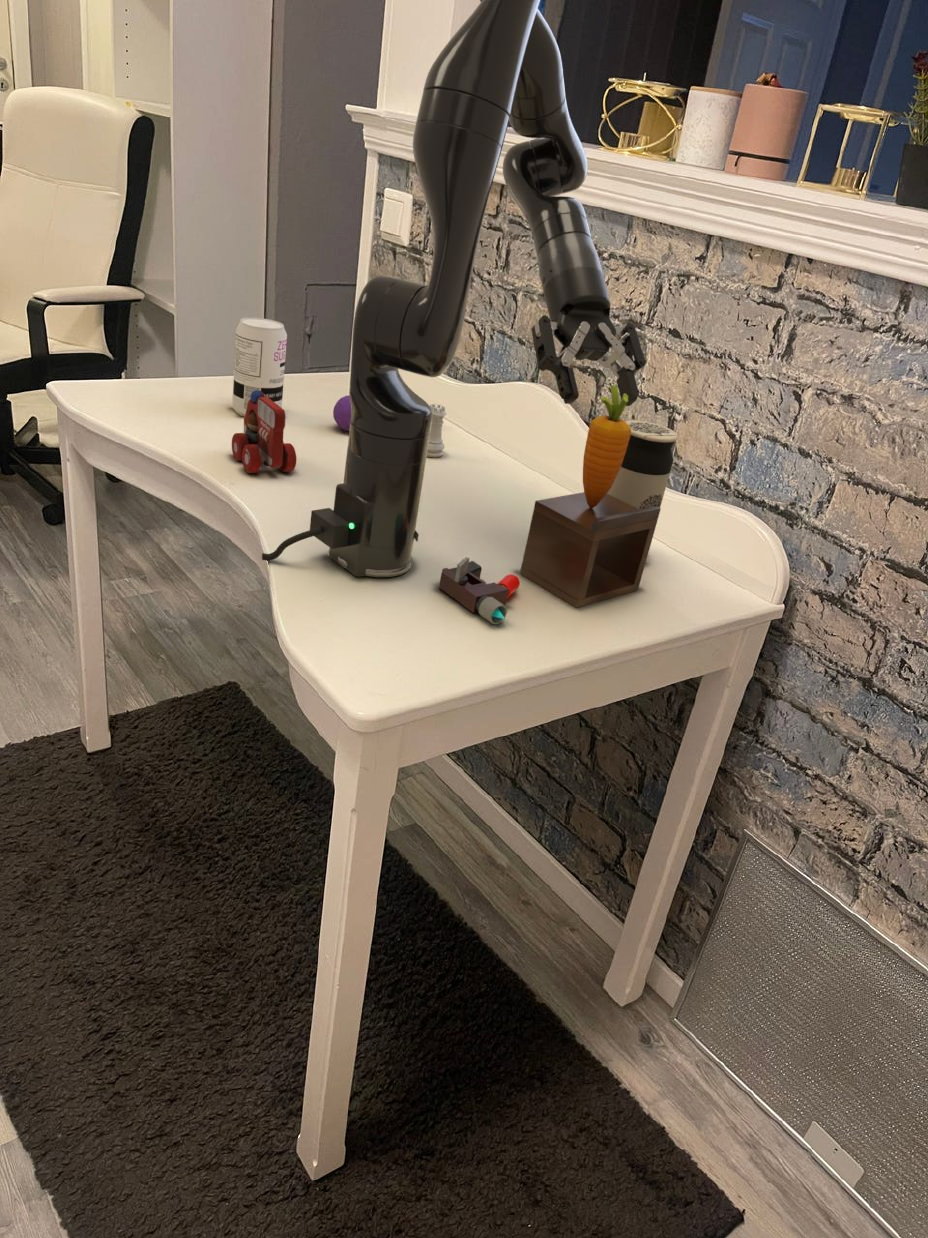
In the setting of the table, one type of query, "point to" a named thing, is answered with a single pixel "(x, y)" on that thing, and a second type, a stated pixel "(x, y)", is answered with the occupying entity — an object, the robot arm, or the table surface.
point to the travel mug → (645, 465)
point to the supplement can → (258, 361)
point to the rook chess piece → (436, 432)
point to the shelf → (588, 547)
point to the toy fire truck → (263, 437)
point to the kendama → (343, 413)
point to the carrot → (605, 449)
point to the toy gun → (478, 590)
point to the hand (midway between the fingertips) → (601, 402)
